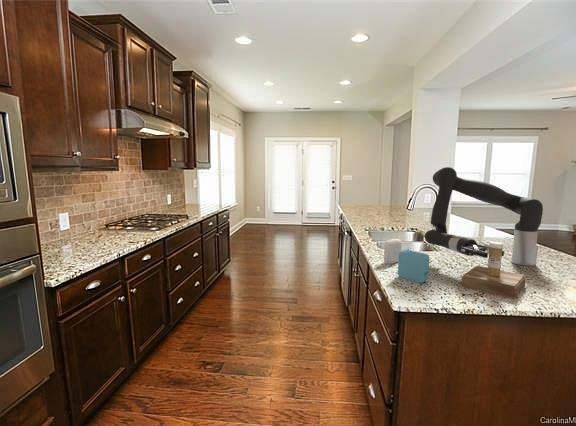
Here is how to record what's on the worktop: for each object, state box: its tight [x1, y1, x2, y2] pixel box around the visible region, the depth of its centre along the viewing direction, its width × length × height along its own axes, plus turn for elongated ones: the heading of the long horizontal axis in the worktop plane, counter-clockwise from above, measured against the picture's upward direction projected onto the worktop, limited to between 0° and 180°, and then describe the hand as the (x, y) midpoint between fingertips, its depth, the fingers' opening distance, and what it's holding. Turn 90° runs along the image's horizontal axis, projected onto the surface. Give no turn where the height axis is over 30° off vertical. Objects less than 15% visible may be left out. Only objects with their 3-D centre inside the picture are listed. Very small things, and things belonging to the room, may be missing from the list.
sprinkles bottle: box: [487, 241, 504, 276], centre depth 125 cm, size 5×5×14 cm
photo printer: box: [383, 238, 403, 265], centre depth 159 cm, size 10×4×12 cm, turn 123°
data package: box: [397, 249, 430, 284], centre depth 135 cm, size 12×4×12 cm, turn 40°
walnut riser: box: [460, 265, 526, 301], centre depth 126 cm, size 18×18×5 cm
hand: (495, 254), depth 125 cm, fingers open, 8 cm apart
